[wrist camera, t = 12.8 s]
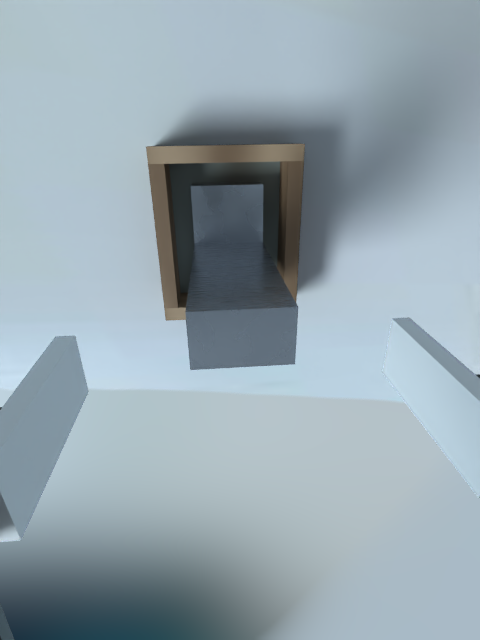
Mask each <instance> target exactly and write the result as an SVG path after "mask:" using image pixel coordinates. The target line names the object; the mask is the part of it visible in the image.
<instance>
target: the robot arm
mask: <svg viewBox="0 0 480 640" xmlns="http://www.w3.org/2000/svg"><path fill="white" fill-rule="evenodd" d="M382 373H383V374H384V376H385V377H386V378H387V380H388V381H389V382H390V384H391V385H392V386H393V387H394V389H395V390H396V391H397V393H398V394H399V395H400V397H401V398H402V399H403V401H404V402H405V403H406V404H407V406H408V407H409V408H410V410H411V411H412V412H413V414H414V415H415V416H416V417H417V419H418V420H419V421H420V423H421V424H422V425H423V427H424V428H425V429H426V430H427V432H428V433H429V434H430V436H431V437H432V438H433V440H434V441H435V442H436V443H437V445H438V446H439V447H440V449H441V450H442V451H443V453H444V454H445V455H446V456H447V458H448V459H449V460H450V462H451V463H452V464H453V465H454V467H455V468H456V469H457V471H458V472H459V473H460V475H461V476H462V477H463V479H464V480H465V481H466V482H467V484H468V485H469V486H470V488H471V489H472V490H473V492H474V493H475V494H476V496H477V497H478V498H480V375H475V374H474V373H473V372H472V371H471V370H469V369H468V368H467V367H466V366H465V365H464V364H463V363H461V362H460V361H459V360H458V359H457V358H456V357H454V356H453V355H452V354H451V353H450V352H449V351H447V350H446V349H445V348H444V347H443V346H442V345H440V344H439V343H438V342H437V341H436V340H435V339H434V338H432V337H431V336H430V335H429V334H428V333H427V332H425V331H424V330H423V329H422V328H421V327H420V326H418V325H417V324H416V323H415V322H414V321H413V320H412V319H410V318H393V319H392V322H391V327H390V333H389V338H388V343H387V349H386V354H385V360H384V365H383V371H382ZM87 394H88V388H87V383H86V379H85V375H84V371H83V367H82V362H81V358H80V354H79V350H78V346H77V341H76V337H75V336H59V337H55V338H54V339H53V341H52V342H51V343H50V345H49V346H48V347H47V348H46V350H45V351H44V352H43V354H42V355H41V356H40V358H39V359H38V360H37V362H36V363H35V364H34V366H33V367H32V368H31V370H30V371H29V372H28V374H27V375H26V376H25V378H24V379H23V380H22V382H21V383H20V384H19V386H18V387H17V388H16V390H15V391H14V393H13V394H12V395H11V396H10V398H9V399H8V401H7V402H6V403H5V405H4V406H3V407H0V542H6V541H17V540H21V539H22V537H23V535H24V532H25V530H26V528H27V526H28V524H29V521H30V519H31V517H32V515H33V513H34V510H35V508H36V506H37V504H38V501H39V499H40V497H41V495H42V493H43V491H44V488H45V486H46V484H47V482H48V480H49V477H50V475H51V473H52V471H53V469H54V466H55V464H56V462H57V460H58V458H59V455H60V453H61V451H62V449H63V447H64V444H65V442H66V440H67V438H68V436H69V433H70V431H71V429H72V427H73V425H74V422H75V420H76V418H77V416H78V413H79V411H80V409H81V407H82V405H83V402H84V401H85V398H86V396H87ZM0 640H14V638H13V635H12V633H11V630H10V627H9V625H8V622H7V620H6V617H5V614H4V612H3V609H2V606H1V604H0Z"/></svg>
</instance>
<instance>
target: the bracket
mask: <svg viewBox="0 0 480 640" xmlns="http://www.w3.org/2000/svg"><path fill="white" fill-rule="evenodd" d="M191 199H192V214H193V228H194V243H195V245H194V252H193V260H192V267H191V274H190V282H189V289H188V297H187V304H186V311H185V314H186V325H187V336H188V348H189V359H190V370H197V369H216V368H234V367H252V366H270V365H288V364H295V353H296V336H297V318H298V306H297V304H296V302H295V300H294V298H293V297H292V295H291V293H290V291H289V289H288V287H287V286H286V284H285V282H284V280H283V278H282V276H281V275H280V273H279V271H278V269H277V267H276V265H275V263H274V262H273V260H272V258H271V256H270V254H269V252H268V251H267V249H266V247H265V245H264V243H263V184H262V183H261V182H222V183H192V184H191Z"/></svg>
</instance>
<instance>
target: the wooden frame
mask: <svg viewBox="0 0 480 640" xmlns="http://www.w3.org/2000/svg"><path fill="white" fill-rule="evenodd" d="M146 149H147V158H148V167H149V176H150V185H151V194H152V202H153V211H154V220H155V229H156V238H157V247H158V255H159V264H160V273H161V282H162V291H163V300H164V308H165V317H166V320H186V314H185V311H186V304H187V297H188V289H189V282H190V274H191V267H192V260H193V252H194V245H195V243H194V228H193V214H192V199H191V184H192V183H222V182H261V183H262V184H263V243H264V245H265V247H266V249H267V251H268V252H269V254H270V256H271V258H272V260H273V262H274V263H275V265H276V267H277V269H278V271H279V273H280V275H281V276H282V278H283V280H284V282H285V284H286V286H287V287H288V289H289V291H290V293H291V295H292V297H293V298H294V300H295V302H296V296H297V277H298V259H299V241H300V223H301V204H302V186H303V168H304V149H305V144H247V145H190V146H149V147H146Z"/></svg>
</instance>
